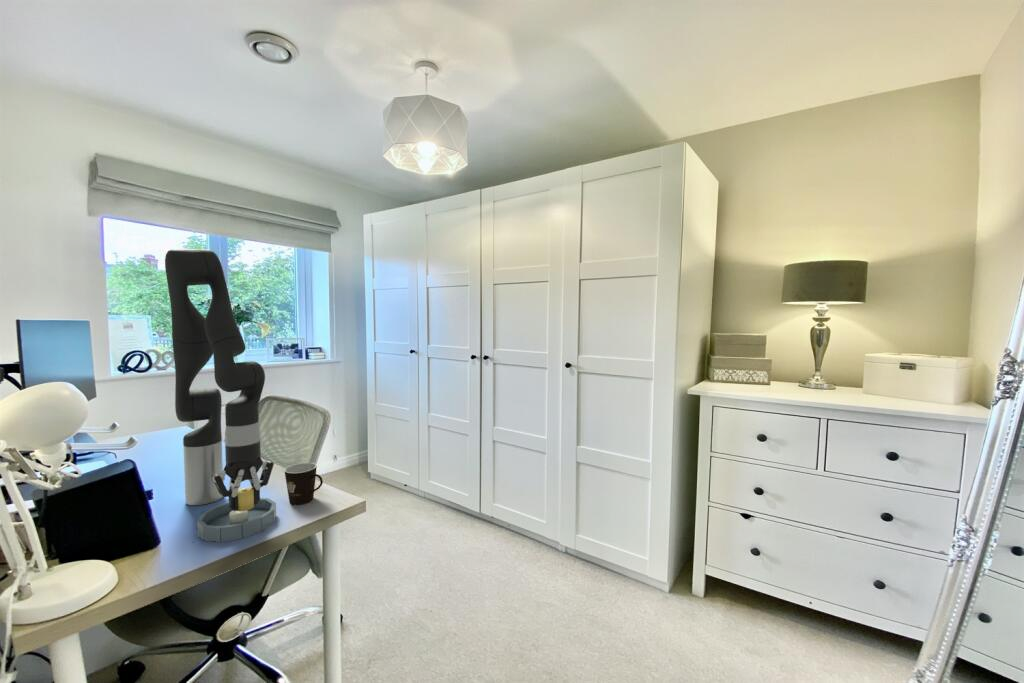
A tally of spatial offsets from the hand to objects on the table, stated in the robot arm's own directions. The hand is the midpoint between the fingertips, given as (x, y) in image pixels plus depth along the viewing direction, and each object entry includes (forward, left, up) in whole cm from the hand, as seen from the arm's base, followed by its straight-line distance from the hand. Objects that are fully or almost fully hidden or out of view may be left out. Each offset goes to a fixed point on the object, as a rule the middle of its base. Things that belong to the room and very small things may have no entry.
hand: (245, 506), depth 107 cm
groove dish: (-5, 0, -6) cm, 8 cm away
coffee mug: (-5, +17, -7) cm, 19 cm away
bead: (0, 0, 0) cm, 0 cm away
